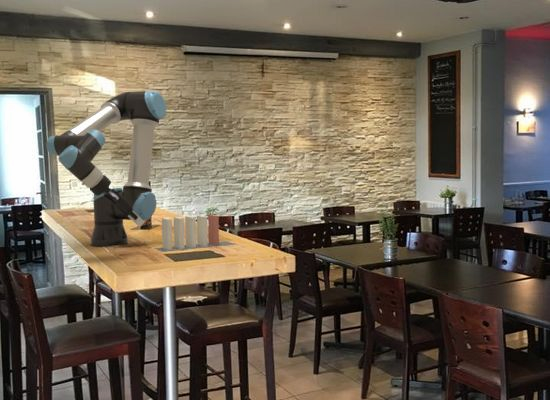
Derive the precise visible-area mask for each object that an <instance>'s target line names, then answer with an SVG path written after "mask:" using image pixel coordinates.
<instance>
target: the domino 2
mask: <svg viewBox="0 0 550 400" xmlns="http://www.w3.org/2000/svg"><path fill="white" fill-rule="evenodd" d="M184 245H185V218H184V217H180V216H174V217H173V246H174V247H176V248H178V249H184Z"/></svg>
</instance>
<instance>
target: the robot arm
mask: <svg viewBox="0 0 550 400" xmlns="http://www.w3.org/2000/svg"><path fill="white" fill-rule="evenodd" d="M166 114H167V105H166V101H165V99H164V97H163V95H162V94H161V93H160V92H159V91H156V90H141V91H138V90H137V91H126V92H123V93H119V94H117V95H115V96H113V97H111V98H110V99H108V100H107V101H105V102H103V103H102V104H101V106H100V108H99V109H97V110H96V111H95V112H93V113H91V114H90V115H88V116H87V117H86V118H84V119H82V120H81V121H80V122H78V123H76V124H75V125H74V126H72V127H71V128H69V129H68V130H66V131H64V132H63V133H61V134H59V135H57V134H55V135H51V136H49V137H48V138H47V141H46V143H45V144H46V145H45V147H46V150H47V152H48V153H49V154H50V155H51V156H57V157H58V161H59V162H60V164H61V165H62V166H63V167H64V168H65V169H66V170H67V171H68V172H69V173H71V174H72V175H73V176H74V177H75V178H77V179H78V180H79V181H80V183H81V186H85V187H86V188H88V189H89V191H90V192H91V193H93V218H94V219H93V222H94V226H93V230H92V235H91V238H90V245H91V246H95V247H113V246H115V247H116V246H122V245H126V244H128V243H129V238H128V235H127V232H126V229H125V227H124V220H125V221H132V222H134V224H135V225H136V226H137V227H139V228H141V227H142V226H143V224H144V223H145V222H146V221H147V220H149V219H151V218H152V216H153V215H154V214H155V211H156V208H157V199H156V198H157V197H156V196H155V194H154V193H153V188H152V187H151V186H150V185H149V184H150V175H151V168H152V167H151V166H152V155H153V148H154V147H153V146H154V136H155V129H156V128H157V127H159V125H160V120H162V119H164V118H165V116H166ZM128 120H129V121H130V123H131V124H132V125H133V128H132V138H131V139H132V140H131V147H130V157H129V166H128V173H127V174H128V175H127V182H126V183H125V184H124V185H122V188H121V187H115V188H110V186H111V184H112V181H111V180H110V178H108V177H107V176H106V175H105V174H104V172H102V171H101V170H100V169H99V168H98V167H97V166H96V165H95V164H93V162H92V161H93V160H94V158H95V157H96V156H97V155H98V154H99V152H100V151H101V150H102V148H103V147H104V145H105V144H106V138H105V136H104V134H103V133H102V131H103V130H106V128H108V127H109V126H111V125H116V124H118V123H119V122H121V121H128Z"/></svg>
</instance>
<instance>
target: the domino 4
mask: <svg viewBox="0 0 550 400" xmlns="http://www.w3.org/2000/svg"><path fill="white" fill-rule="evenodd" d="M208 243H209V240H208V215H207V216H206V215H202V214H201V215H200V214H198V215H196V244H197V245H200V246H203V247H206V246H208Z"/></svg>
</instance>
